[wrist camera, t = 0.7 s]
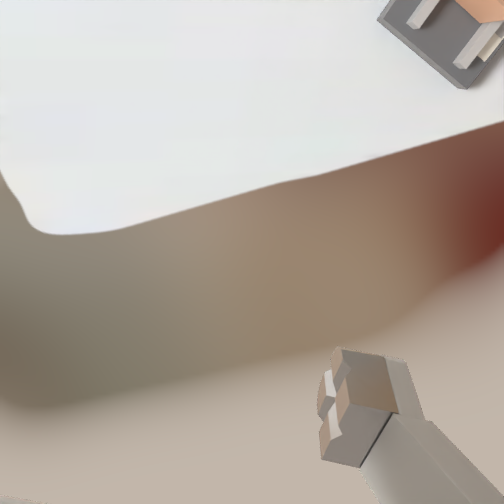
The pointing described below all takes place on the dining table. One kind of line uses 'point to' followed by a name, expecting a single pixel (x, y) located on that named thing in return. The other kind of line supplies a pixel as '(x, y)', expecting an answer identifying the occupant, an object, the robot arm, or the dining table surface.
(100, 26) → the dining table surface
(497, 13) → the switch tab
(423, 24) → the switch board
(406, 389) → the robot arm
